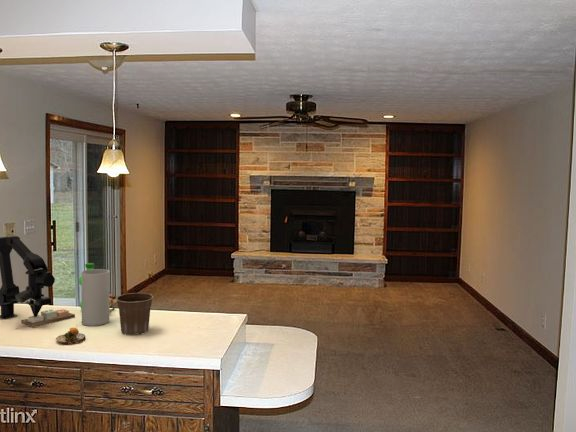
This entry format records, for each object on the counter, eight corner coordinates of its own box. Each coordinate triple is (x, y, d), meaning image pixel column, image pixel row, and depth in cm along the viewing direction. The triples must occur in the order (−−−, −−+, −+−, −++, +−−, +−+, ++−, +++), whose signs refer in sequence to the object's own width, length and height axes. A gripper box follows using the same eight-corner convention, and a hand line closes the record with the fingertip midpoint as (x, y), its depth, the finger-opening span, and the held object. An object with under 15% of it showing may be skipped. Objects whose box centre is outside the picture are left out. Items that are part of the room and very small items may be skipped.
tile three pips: (53, 317, 247) (53, 310, 246) (63, 314, 251) (62, 308, 250) (59, 318, 244) (59, 312, 244) (68, 316, 248) (68, 310, 248)
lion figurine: (110, 316, 252) (110, 298, 251) (99, 316, 251) (99, 298, 250) (115, 308, 266) (115, 291, 266) (105, 308, 265) (105, 291, 265)
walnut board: (21, 323, 236) (21, 320, 236) (63, 313, 254) (63, 310, 253) (32, 327, 230) (32, 324, 230) (74, 317, 248) (74, 314, 248)
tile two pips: (40, 317, 241) (40, 311, 241) (50, 315, 245) (50, 308, 245) (46, 319, 238) (46, 312, 238) (56, 317, 242) (56, 310, 242)
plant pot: (142, 338, 220) (142, 302, 218) (109, 335, 223) (109, 299, 222) (158, 327, 236) (159, 294, 234) (127, 324, 239) (127, 291, 238)
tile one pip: (27, 323, 236) (27, 316, 236) (37, 320, 240) (37, 314, 240) (33, 325, 233) (33, 318, 233) (43, 322, 237) (43, 316, 237)
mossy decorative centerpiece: (66, 335, 222) (66, 319, 221) (91, 338, 220) (91, 321, 219) (49, 344, 210) (49, 327, 209) (75, 347, 208) (74, 329, 207)
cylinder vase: (104, 317, 249) (104, 268, 247) (112, 323, 240) (112, 272, 237) (78, 321, 242) (78, 270, 240) (86, 328, 232) (85, 275, 230)
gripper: (7, 283, 233) (7, 316, 235) (28, 290, 223) (29, 324, 224) (30, 280, 243) (31, 311, 244) (52, 285, 232) (52, 318, 234)
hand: (35, 316), depth 236 cm, fingers closed, pressing on tile one pip
